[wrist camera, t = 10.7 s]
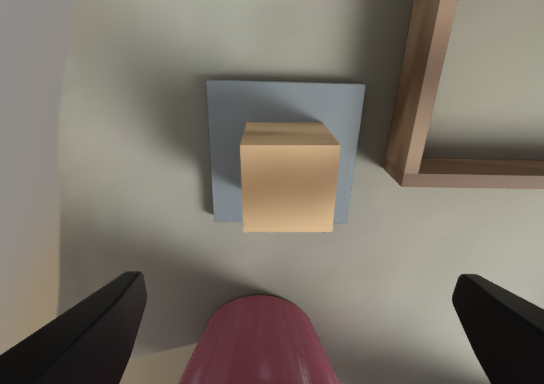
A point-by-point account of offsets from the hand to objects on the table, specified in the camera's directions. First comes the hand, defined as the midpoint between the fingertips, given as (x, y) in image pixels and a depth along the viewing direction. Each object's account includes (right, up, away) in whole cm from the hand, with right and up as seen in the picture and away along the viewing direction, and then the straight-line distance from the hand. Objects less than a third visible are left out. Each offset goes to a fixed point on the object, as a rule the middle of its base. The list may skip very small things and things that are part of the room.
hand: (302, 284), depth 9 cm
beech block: (0, +5, +11) cm, 12 cm away
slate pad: (0, +5, +11) cm, 12 cm away
